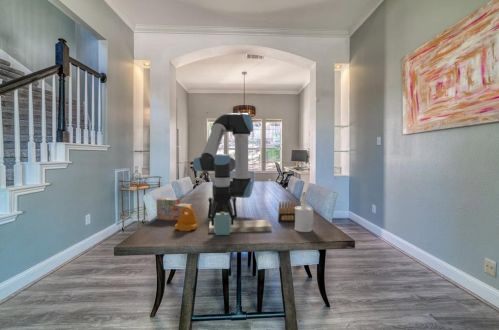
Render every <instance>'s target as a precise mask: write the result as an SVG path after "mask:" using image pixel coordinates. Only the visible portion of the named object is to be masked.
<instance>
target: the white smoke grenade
mask: <svg viewBox="0 0 499 330" xmlns="http://www.w3.org/2000/svg"><path fill="white" fill-rule="evenodd" d="M299 203H300V205H299V206H298V205H296V207H295V222H294V228H293V229H294V230H295V231H297V232H300V233H310V232H313V226H312V225H313V224H314V209H313V207H312V206H310V205H309V204H308V202H307V193H306V192H305V191H302V192H301V196H300V198H299Z"/></svg>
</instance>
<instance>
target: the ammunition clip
mask: <svg viewBox="0 0 499 330" xmlns="http://www.w3.org/2000/svg"><path fill="white" fill-rule="evenodd" d="M278 206H279V207H278V215H277V217H278V218H277V222H278V223H295V207H297V202H296V201H294V203H293V201H291V202H290V201H288V202H287V201H285V202H284V201H282V203H281V201H279V203H278Z"/></svg>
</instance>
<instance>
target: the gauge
mask: <svg viewBox="0 0 499 330" xmlns="http://www.w3.org/2000/svg"><path fill="white" fill-rule="evenodd" d="M214 218H215V233H214V235H215V236H229V235H231V232H230V218H231V216H230V214H229V213H225V212H220V213H216V214H215V217H214Z"/></svg>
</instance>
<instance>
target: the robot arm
mask: <svg viewBox="0 0 499 330" xmlns="http://www.w3.org/2000/svg"><path fill="white" fill-rule="evenodd" d="M252 118H253V117H252V115H251V114H250V113H248V112H241V113H240V112H237V113H224V114H222V115H220V116H219V117H217V118H216V119H215V120H214V122H213V123H212V124H211V127H210V129H211V131H210V134H209V135H208V138H207V141H206V143H205V146H204V148H203V150H202V153H201V155H200V156H198V157H197V156H196V157H195V158H194V159H193V163H192V165H193V169H194V171H196V172H202V173H203V172H213V173H214V179H213V180H212V191H211V192H212V197H211V196H210V197H208V203H209V204H208V209H207V210H208V212H207V218H208V219H211V220H210V221H212V226H214V233H213V234H215V214H216V213H220V212H225V213H229V214H230V233H232V232H231V225H233V224H234V221H235V220H234V219H236V218H237V217H238V213H237V203H236V202H237V198H243V199H246V198H248V199H249V198H251V196H252V194H253V188H254V180H253V179H251V178H252V177H251V175H250V174H249V137H250V136H251V133H253V132H254V122H253V119H252ZM227 133H232V136H233V138H234V157H231V156H230V155H229V154H227V153H226V154H225V153H224V154H221V153H220V154H217V153H218V150H219V148H220V145H221V142H222V140H223V137H224V136H225V135H226V134H227ZM233 171H234V175H233V176H232V178H231V172H233Z"/></svg>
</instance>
